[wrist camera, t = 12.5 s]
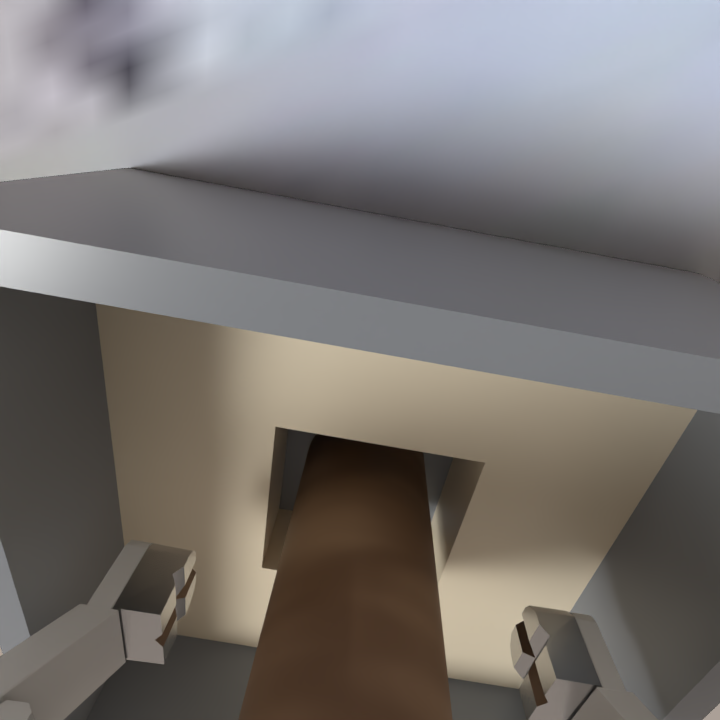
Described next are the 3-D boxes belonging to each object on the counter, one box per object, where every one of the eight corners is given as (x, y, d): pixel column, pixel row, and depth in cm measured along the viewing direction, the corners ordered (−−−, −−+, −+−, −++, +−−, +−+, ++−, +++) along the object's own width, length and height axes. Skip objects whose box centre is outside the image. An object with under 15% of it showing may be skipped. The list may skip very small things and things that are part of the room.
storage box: (698, 273, 12) (1024, 414, 6) (512, 618, 19) (570, 844, 13) (128, 167, 12) (-164, 200, 6) (156, 560, 19) (43, 764, 13)
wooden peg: (437, 425, 14) (520, 922, 5) (409, 514, 16) (436, 995, 7) (314, 404, 14) (183, 874, 5) (301, 495, 16) (188, 958, 7)
